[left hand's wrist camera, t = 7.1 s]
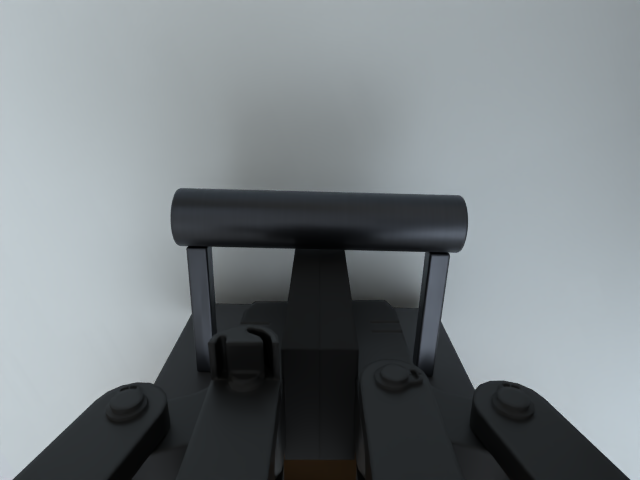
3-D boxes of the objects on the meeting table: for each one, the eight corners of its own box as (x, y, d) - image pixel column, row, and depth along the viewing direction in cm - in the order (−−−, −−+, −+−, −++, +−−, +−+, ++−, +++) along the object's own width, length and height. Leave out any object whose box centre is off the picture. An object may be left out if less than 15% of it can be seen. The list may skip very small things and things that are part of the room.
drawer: (185, 160, 16) (114, 205, 11) (453, 167, 16) (524, 215, 11) (219, 581, 24) (189, 733, 19) (397, 585, 24) (421, 736, 19)
